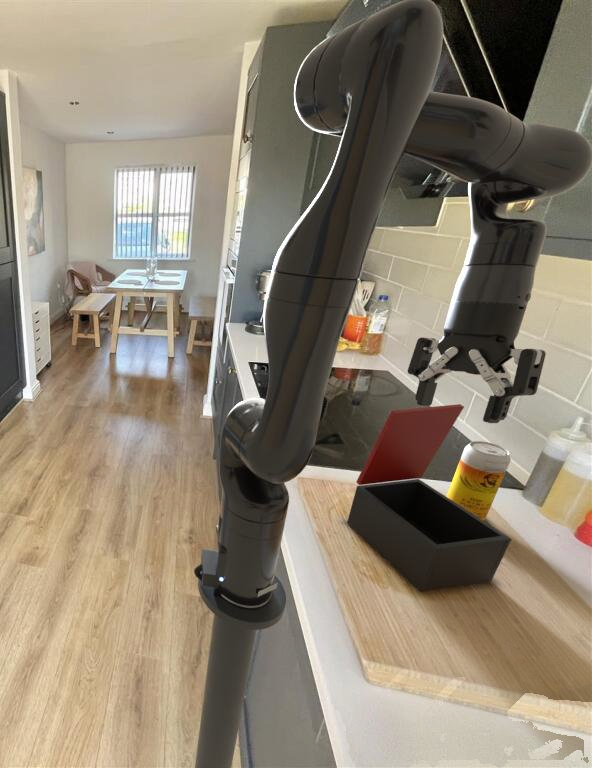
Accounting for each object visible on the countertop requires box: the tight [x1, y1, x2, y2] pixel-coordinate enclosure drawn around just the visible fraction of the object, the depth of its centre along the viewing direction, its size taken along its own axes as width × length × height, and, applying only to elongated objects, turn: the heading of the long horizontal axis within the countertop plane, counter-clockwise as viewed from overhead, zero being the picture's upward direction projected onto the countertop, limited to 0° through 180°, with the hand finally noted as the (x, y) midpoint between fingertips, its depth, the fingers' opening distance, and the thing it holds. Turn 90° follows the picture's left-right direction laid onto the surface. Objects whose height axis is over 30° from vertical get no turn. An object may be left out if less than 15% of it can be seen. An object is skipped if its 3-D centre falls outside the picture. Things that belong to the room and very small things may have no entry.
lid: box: [355, 403, 465, 486], centre depth 69 cm, size 16×13×1 cm
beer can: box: [445, 440, 512, 522], centre depth 75 cm, size 6×6×15 cm
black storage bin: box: [346, 478, 512, 593], centre depth 68 cm, size 16×13×9 cm
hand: (455, 413), depth 58 cm, fingers open, 8 cm apart
